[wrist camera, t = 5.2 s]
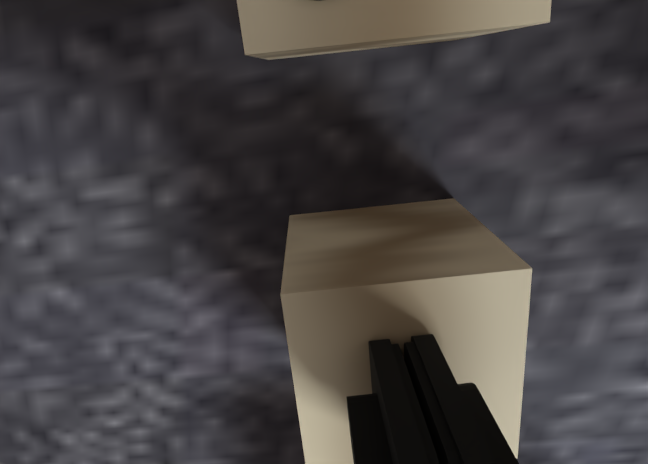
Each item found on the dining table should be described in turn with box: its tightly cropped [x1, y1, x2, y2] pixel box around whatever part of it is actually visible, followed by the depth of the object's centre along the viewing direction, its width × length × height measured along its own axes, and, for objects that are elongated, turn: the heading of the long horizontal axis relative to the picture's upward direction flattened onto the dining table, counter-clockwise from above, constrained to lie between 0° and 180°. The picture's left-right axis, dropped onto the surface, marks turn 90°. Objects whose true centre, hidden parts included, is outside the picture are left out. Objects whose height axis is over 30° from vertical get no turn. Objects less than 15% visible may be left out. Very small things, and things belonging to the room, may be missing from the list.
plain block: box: [280, 198, 532, 464], centre depth 14 cm, size 6×6×6 cm
